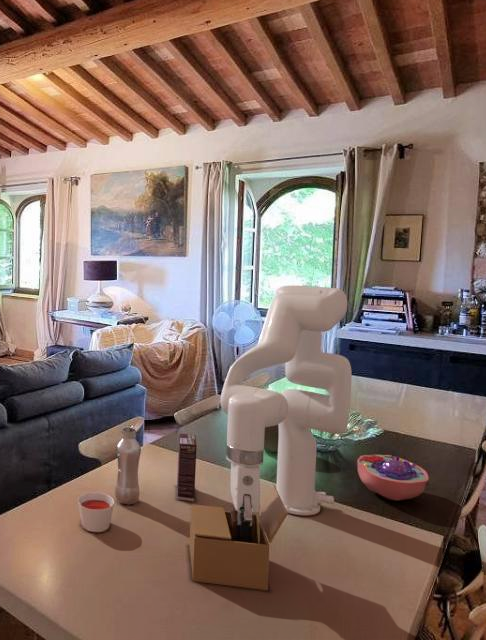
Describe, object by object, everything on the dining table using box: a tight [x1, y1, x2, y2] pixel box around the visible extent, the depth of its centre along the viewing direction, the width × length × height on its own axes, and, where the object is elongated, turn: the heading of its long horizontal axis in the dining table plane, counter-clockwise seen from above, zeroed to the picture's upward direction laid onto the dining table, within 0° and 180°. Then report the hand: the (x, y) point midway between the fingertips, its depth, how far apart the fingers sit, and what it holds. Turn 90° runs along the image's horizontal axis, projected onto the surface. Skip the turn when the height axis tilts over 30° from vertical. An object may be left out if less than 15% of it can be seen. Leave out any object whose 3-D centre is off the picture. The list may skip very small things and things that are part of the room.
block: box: [229, 510, 255, 543], centre depth 113 cm, size 4×4×4 cm
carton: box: [189, 503, 270, 591], centre depth 114 cm, size 15×13×10 cm
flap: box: [258, 484, 289, 544], centre depth 112 cm, size 7×13×1 cm
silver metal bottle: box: [114, 427, 142, 505], centre depth 142 cm, size 6×7×20 cm
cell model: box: [356, 453, 430, 502], centre depth 149 cm, size 17×20×11 cm
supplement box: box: [176, 433, 198, 502], centre depth 147 cm, size 9×5×16 cm, turn 168°
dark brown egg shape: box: [264, 425, 279, 453], centre depth 180 cm, size 14×14×15 cm
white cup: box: [77, 491, 115, 533], centre depth 130 cm, size 9×9×6 cm
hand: (241, 535), depth 113 cm, fingers closed on block, 4 cm apart
